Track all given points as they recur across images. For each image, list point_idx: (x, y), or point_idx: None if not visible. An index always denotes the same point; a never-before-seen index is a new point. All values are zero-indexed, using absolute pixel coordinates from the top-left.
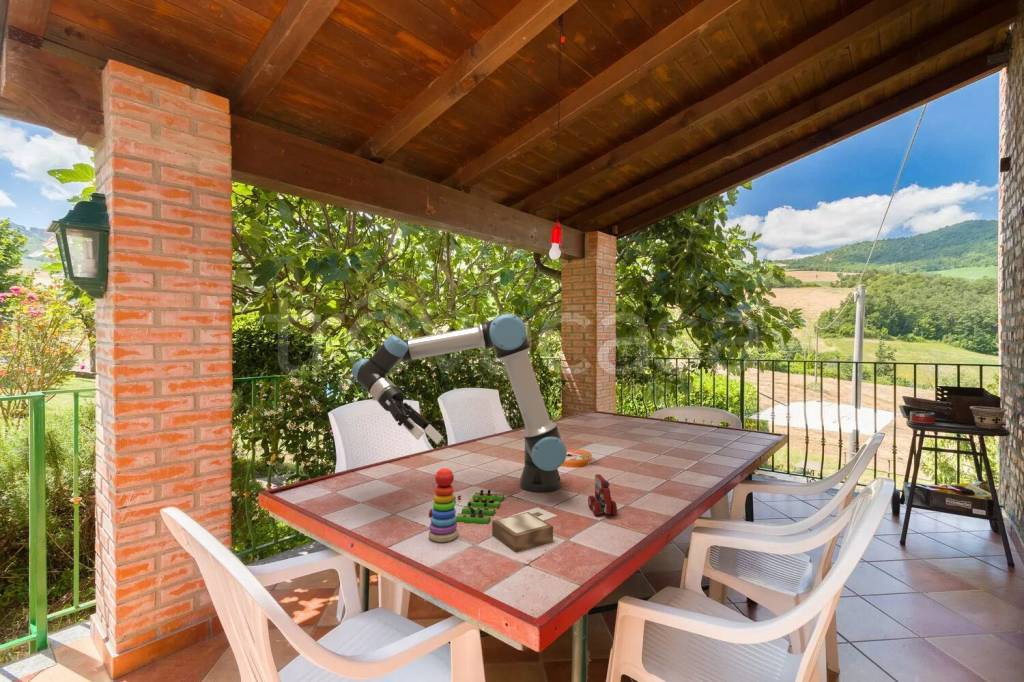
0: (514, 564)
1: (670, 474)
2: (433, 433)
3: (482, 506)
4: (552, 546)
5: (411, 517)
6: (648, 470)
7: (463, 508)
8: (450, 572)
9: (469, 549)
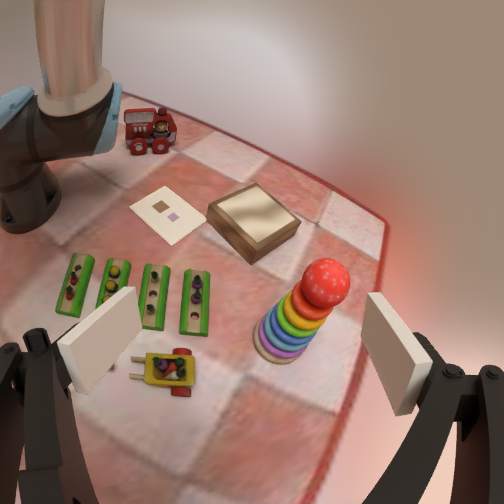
0: (321, 236)
1: None
2: (110, 332)
3: None
4: None
5: (198, 435)
6: None
7: (150, 325)
8: (364, 299)
9: None
